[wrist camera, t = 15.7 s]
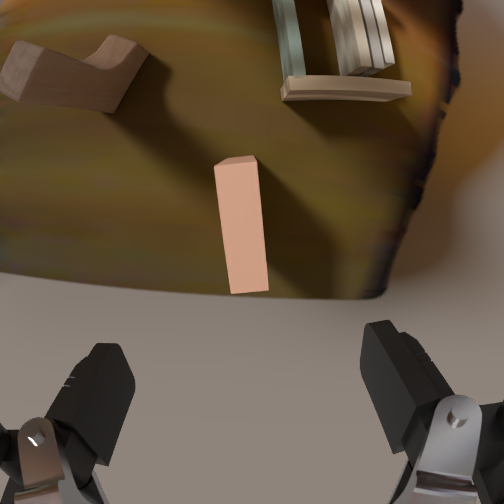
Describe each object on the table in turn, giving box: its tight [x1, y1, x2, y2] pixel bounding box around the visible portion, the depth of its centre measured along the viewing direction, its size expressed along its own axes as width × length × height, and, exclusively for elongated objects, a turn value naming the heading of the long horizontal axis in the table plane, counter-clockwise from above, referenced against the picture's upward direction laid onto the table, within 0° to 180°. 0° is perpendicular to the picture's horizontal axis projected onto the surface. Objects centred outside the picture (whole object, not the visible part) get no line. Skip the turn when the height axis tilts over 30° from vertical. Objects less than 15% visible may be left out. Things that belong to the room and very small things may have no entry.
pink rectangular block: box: [214, 155, 269, 294], centre depth 28 cm, size 10×3×14 cm, turn 6°
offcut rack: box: [272, 0, 412, 102], centre depth 24 cm, size 18×13×7 cm
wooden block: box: [0, 34, 149, 113], centre depth 20 cm, size 9×4×18 cm, turn 148°
